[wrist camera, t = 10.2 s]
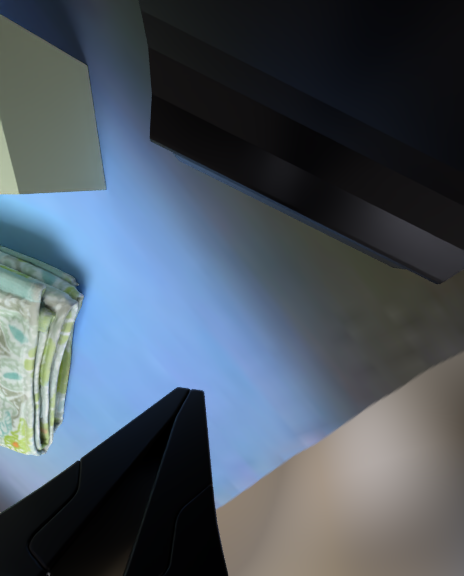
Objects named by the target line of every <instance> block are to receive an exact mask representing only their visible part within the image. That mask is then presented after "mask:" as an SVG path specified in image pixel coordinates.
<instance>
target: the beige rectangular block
mask: <svg viewBox="0 0 464 576" xmlns="http://www.w3.org/2000/svg"><path fill="white" fill-rule="evenodd" d="M92 190H106V185H105V178H104V172H103V165H102V159H101V152H100V145H99V139H98V132H97V126H96V119H95V112H94V106H93V99H92V93H91V86H90V79H89V73H88V66H87V65H85V64H84V63H82V62H80V61H79V60H77V59H75V58H73V57H72V56H70V55H68V54H67V53H65V52H63V51H62V50H60V49H58V48H57V47H55V46H53V45H52V44H50V43H48V42H47V41H45V40H43V39H41V38H40V37H38V36H36V35H35V34H33V33H31V32H30V31H28V30H26V29H25V28H23V27H21V26H20V25H18V24H16V23H14V22H13V21H11V20H9V19H8V18H6V17H4V16H3V15H1V14H0V194H33V193H53V192H73V191H92Z"/></svg>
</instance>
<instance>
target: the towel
mask: <svg viewBox="0 0 464 576" xmlns="http://www.w3.org/2000/svg"><path fill="white" fill-rule="evenodd" d="M77 286H79V284H78V283H76V279H75V278H74V277H73V276H71V275H69V274H67V273H65V272H63V271H61V270H59V269H57V268H55V267H53V266H51V265H48V264H46V263H44V262H41V261H39V260H37V259H34V258H32V257H29V256H26V255H24V254H21V253H18V252H16V251H13V250H11V249H9V248H6V247H3V246H0V445H1V446H3V447H7V448H9V449H11V450H14V451H17V452H19V453H23V454H26V455H29V454H33V455H36V456H40V455H41V454H45V453H46V452H47V450H48V448H49V446H50V445H51V444H52V441H53V433H55V431H56V429H57V428H58V427H59V426H60V425H61V424H62V421H63V413H64V403H65V396H66V390H67V384H68V377H69V370H70V361H71V345H72V337H73V329H74V322H75V320H76V317H77V315H78V313H79V311H80V308H81V306H82V300H83V298H84V295H83V294H81V293H80V292H78V291H77V289H76V287H77Z"/></svg>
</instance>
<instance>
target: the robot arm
mask: <svg viewBox="0 0 464 576" xmlns="http://www.w3.org/2000/svg"><path fill="white" fill-rule="evenodd" d="M139 4H140V8H141V13H142V18H143V23H144V28H145V33H146V38H147V43H148V49H149V62H150V75H151V88H152V103H151V122H150V140H151V142H153V143H155V144H157V145H159V146H161V147H163V148H165V149H167V150H169V151H171V152H173V154H174V155H175V156H176V157H177V159H178V160H179V161H181V162H183V163H185V164H187V165H189V166H191V167H193V168H195V169H197V170H199V171H201V172H203V173H205V174H207V175H209V176H211V177H213V178H215V179H217V180H219V181H221V182H223V183H225V184H227V185H229V186H231V187H233V188H235V189H237V190H239V191H241V192H243V193H245V194H247V195H249V196H251V197H253V198H255V199H257V200H259V201H261V202H263V203H265V204H267V205H269V206H271V207H273V208H275V209H277V210H279V211H281V212H283V213H285V214H287V215H289V216H291V217H293V218H295V219H297V220H299V221H301V222H303V223H305V224H307V225H309V226H311V227H313V228H315V229H317V230H319V231H321V232H323V233H325V234H327V235H329V236H331V237H333V238H335V239H337V240H339V241H341V242H343V243H345V244H347V245H349V246H351V247H353V248H355V249H357V250H359V251H361V252H363V253H365V254H367V255H369V256H371V257H373V258H375V259H377V260H379V261H381V262H383V263H385V264H387V265H389V266H391V267H393V268H399V269H407V270H409V271H411V272H413V273H415V274H417V275H419V276H421V277H423V278H425V279H427V280H429V281H431V282H433V283H435V284H441V283H442V282H444V281H446V280H447V279H449V278H450V277H452V276H453V275H455V274H457V273H458V272H460V271H461V270H463V269H464V0H139ZM0 576H228V571H227V567H226V563H225V559H224V554H223V550H222V545H221V540H220V534H219V529H218V525H217V517H216V509H215V502H214V491H213V482H212V471H211V460H210V450H209V439H208V428H207V417H206V407H205V396H204V391H202V390H196V389H192V390H190V389H189V388H182V387H177V388H176V389H174V390H173V391H172V392H170V393H169V394H167V395H166V396H165V397H163V398H162V399H161V400H159V401H158V402H157V403H155V404H154V405H153V406H151V407H150V408H148V409H147V410H146V411H144V412H143V413H142V414H140V415H139V416H138V417H136V418H135V419H134V420H132V421H131V422H129V423H128V424H127V425H125V426H124V427H123V428H121V429H120V430H119V431H117V432H116V433H115V434H113V435H112V436H111V437H109V438H108V439H106V440H105V441H104V442H102V443H101V444H100V445H98V446H97V447H96V448H94V449H93V450H92V451H90V452H89V453H87V454H86V455H85V456H83V457H82V458H81V459H80V461H76V462H75V463H74V464H72V465H71V466H70V467H68V468H67V469H66V470H64V471H63V472H61V473H60V474H59V475H57V476H56V477H54V478H53V479H52V480H50V481H49V482H47V483H46V484H44V485H43V486H42V487H40V488H39V489H37V490H35V491H34V492H32V493H31V494H29V495H28V496H26V497H25V498H23V499H22V500H20V501H19V502H17V503H16V504H14V505H12V506H11V507H9V508H8V509H6V510H5V511H3V512H1V513H0Z"/></svg>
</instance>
